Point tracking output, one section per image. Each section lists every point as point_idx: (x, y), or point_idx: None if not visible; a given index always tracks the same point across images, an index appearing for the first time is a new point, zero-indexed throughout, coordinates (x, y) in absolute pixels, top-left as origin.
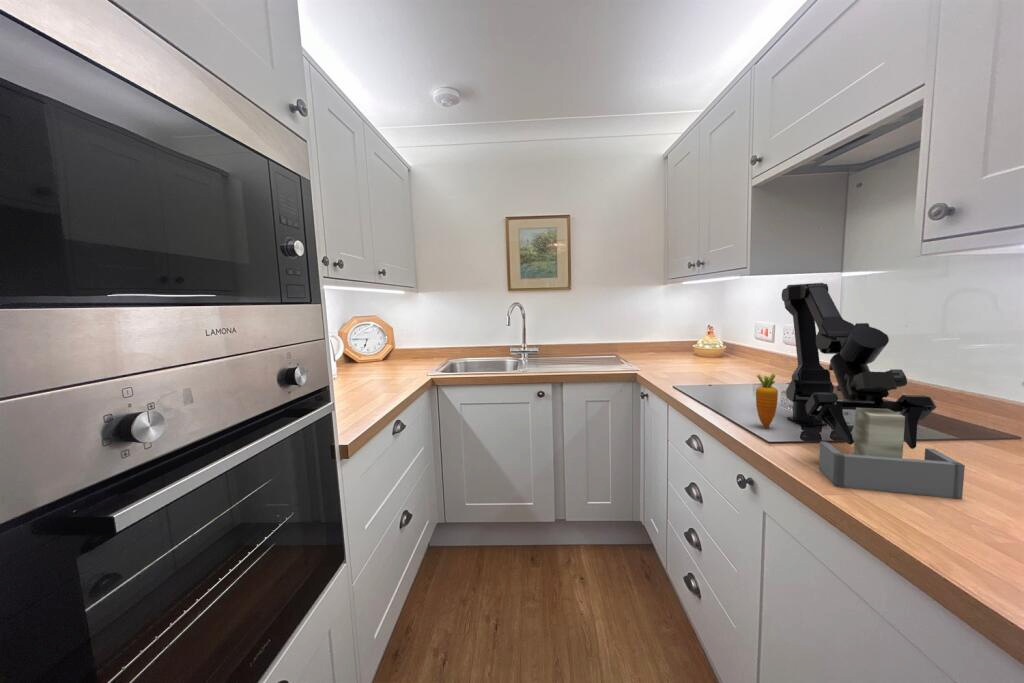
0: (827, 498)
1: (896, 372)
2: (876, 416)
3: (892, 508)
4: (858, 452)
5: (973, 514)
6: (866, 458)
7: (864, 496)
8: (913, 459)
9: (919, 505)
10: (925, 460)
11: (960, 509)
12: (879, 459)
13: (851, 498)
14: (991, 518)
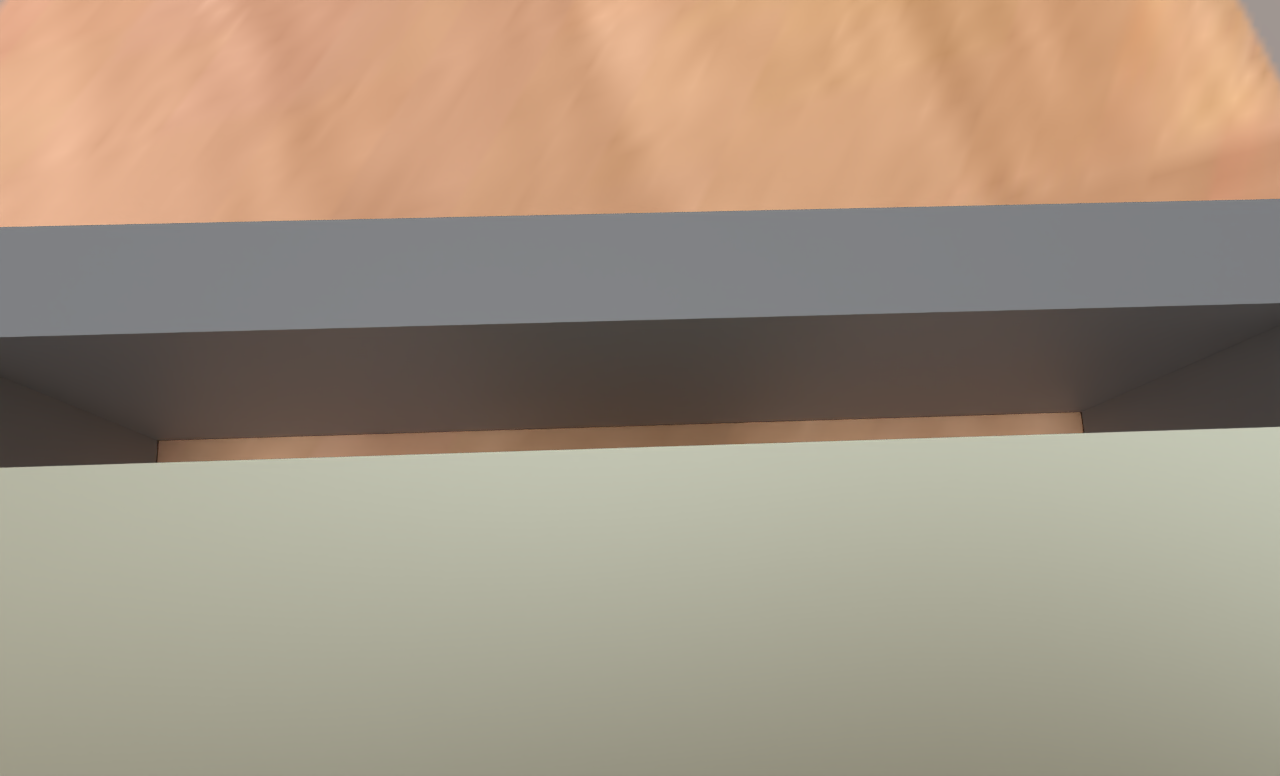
0: (1270, 66)
1: None
2: (1181, 440)
3: (806, 21)
4: None
5: (210, 81)
6: (1035, 212)
7: (947, 190)
8: (391, 313)
9: (555, 134)
10: (238, 311)
11: (253, 147)
12: (874, 208)
13: (1072, 119)
14: (116, 47)
